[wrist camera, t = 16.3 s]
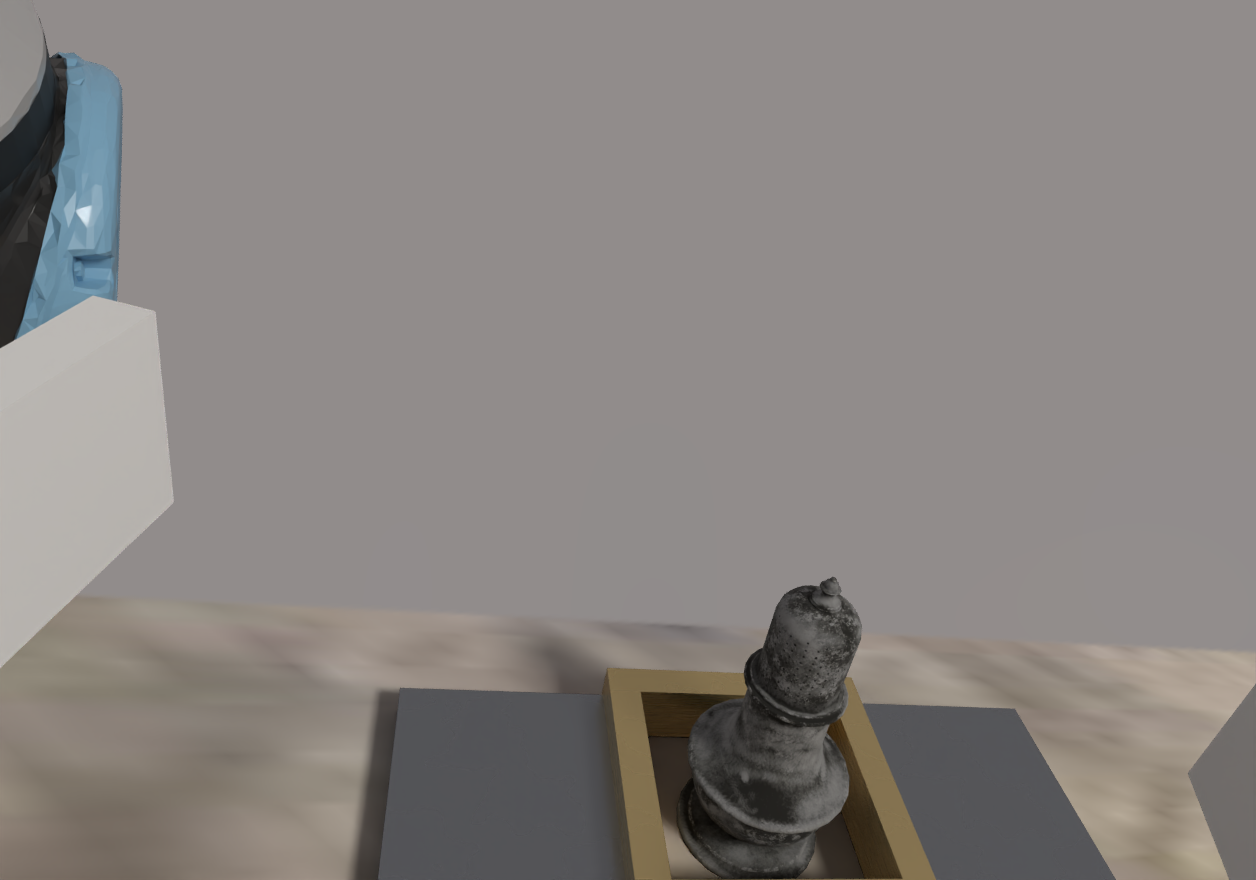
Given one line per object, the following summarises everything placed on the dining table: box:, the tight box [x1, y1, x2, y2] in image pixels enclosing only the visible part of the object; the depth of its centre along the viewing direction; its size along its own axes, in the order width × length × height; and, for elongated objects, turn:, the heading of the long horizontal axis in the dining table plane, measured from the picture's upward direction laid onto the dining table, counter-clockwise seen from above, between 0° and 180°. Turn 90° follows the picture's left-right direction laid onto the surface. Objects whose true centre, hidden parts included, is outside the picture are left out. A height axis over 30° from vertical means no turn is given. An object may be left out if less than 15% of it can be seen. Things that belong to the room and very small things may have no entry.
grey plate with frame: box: [378, 668, 1116, 880], centre depth 35 cm, size 26×10×2 cm, turn 97°
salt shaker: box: [677, 577, 862, 879], centre depth 33 cm, size 6×6×12 cm
